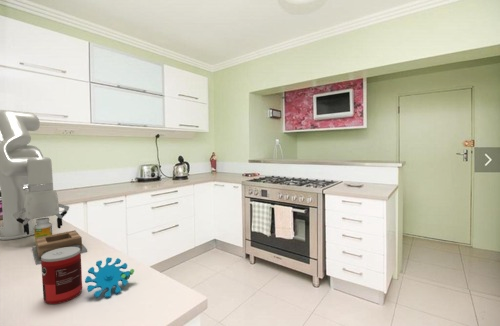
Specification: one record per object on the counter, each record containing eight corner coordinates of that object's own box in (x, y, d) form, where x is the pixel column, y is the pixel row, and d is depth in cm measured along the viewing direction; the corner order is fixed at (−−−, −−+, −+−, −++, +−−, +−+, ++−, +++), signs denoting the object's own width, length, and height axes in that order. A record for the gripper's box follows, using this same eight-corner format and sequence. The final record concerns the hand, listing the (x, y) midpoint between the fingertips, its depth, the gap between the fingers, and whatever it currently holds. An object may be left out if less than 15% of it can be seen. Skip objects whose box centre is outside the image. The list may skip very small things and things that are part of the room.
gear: (83, 299, 57) (87, 258, 63) (81, 308, 60) (85, 268, 66) (135, 290, 63) (134, 253, 69) (131, 299, 66) (130, 263, 72)
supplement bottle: (33, 246, 95) (31, 221, 95) (37, 241, 100) (36, 218, 100) (50, 243, 98) (49, 219, 97) (54, 239, 102) (52, 216, 102)
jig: (36, 248, 90) (35, 238, 90) (75, 240, 99) (75, 230, 99) (39, 258, 82) (38, 246, 82) (82, 248, 90) (81, 237, 90)
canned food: (57, 287, 65) (55, 247, 65) (89, 286, 66) (87, 245, 65) (34, 306, 57) (31, 260, 57) (70, 303, 58) (68, 258, 58)
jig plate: (32, 249, 92) (31, 242, 92) (77, 239, 102) (76, 232, 101) (36, 264, 79) (35, 256, 79) (87, 251, 89) (86, 244, 89)
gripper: (10, 192, 89) (14, 238, 90) (69, 186, 101) (72, 227, 102) (10, 190, 94) (13, 234, 95) (66, 185, 106) (68, 224, 107)
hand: (44, 230), depth 98 cm, fingers open, 9 cm apart
